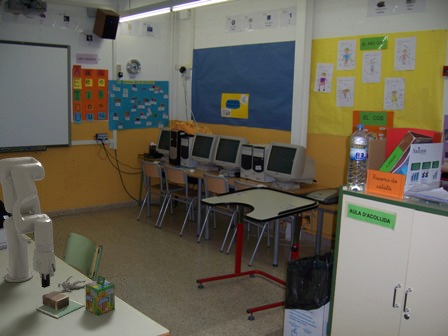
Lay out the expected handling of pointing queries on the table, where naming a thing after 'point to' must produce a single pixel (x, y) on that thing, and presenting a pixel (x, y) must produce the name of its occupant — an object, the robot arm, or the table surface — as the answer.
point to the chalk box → (100, 296)
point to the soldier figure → (70, 285)
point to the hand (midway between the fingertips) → (45, 286)
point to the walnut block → (55, 300)
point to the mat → (59, 313)
